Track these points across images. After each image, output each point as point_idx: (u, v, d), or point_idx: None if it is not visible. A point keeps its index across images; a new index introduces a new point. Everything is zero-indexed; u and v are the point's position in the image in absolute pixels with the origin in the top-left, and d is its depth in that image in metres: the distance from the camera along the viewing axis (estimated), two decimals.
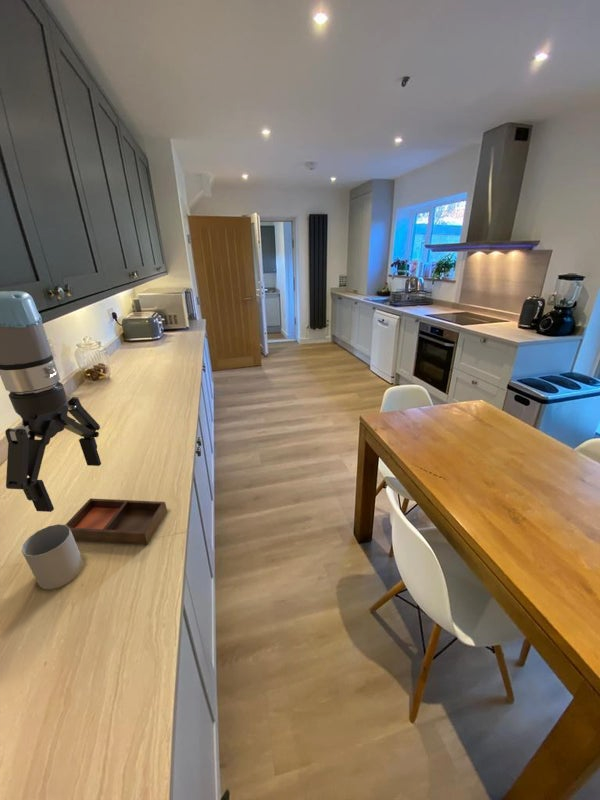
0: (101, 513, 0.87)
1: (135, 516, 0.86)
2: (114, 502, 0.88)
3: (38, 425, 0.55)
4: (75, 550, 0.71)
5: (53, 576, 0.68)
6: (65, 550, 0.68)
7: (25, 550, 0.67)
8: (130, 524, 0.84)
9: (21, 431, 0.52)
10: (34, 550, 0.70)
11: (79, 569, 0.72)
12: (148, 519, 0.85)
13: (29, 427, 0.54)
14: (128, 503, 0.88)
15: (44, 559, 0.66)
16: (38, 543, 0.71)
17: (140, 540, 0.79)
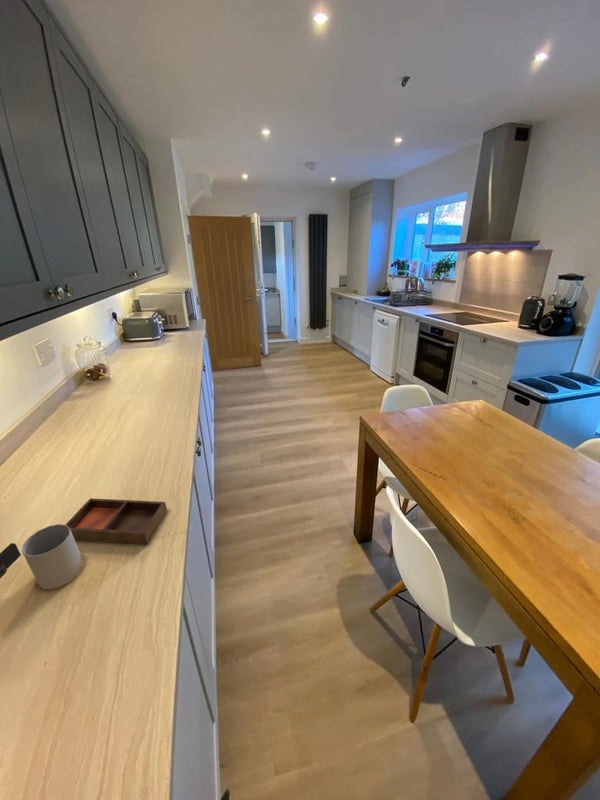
0: (101, 513, 0.87)
1: (135, 516, 0.86)
2: (114, 502, 0.88)
3: None
4: (75, 550, 0.71)
5: (53, 576, 0.68)
6: (65, 550, 0.68)
7: (25, 550, 0.67)
8: (130, 524, 0.84)
9: None
10: (34, 550, 0.70)
11: (79, 569, 0.72)
12: (148, 519, 0.85)
13: None
14: (128, 503, 0.88)
15: (44, 559, 0.66)
16: (38, 543, 0.71)
17: (140, 540, 0.79)
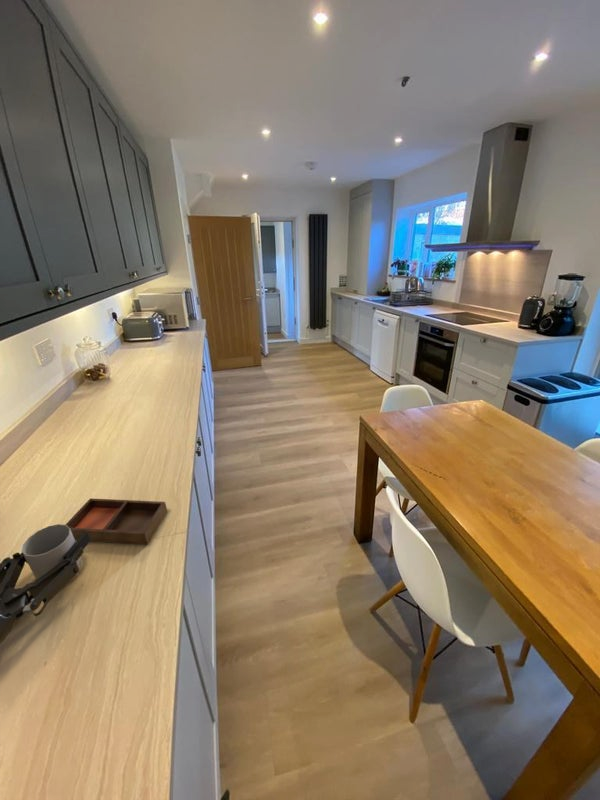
0: (101, 513, 0.87)
1: (135, 516, 0.86)
2: (114, 502, 0.88)
3: None
4: None
5: None
6: (65, 550, 0.68)
7: (25, 550, 0.67)
8: (130, 524, 0.84)
9: None
10: (34, 550, 0.70)
11: (79, 569, 0.72)
12: (148, 519, 0.85)
13: None
14: (128, 503, 0.88)
15: (44, 559, 0.66)
16: (38, 543, 0.71)
17: (140, 540, 0.79)
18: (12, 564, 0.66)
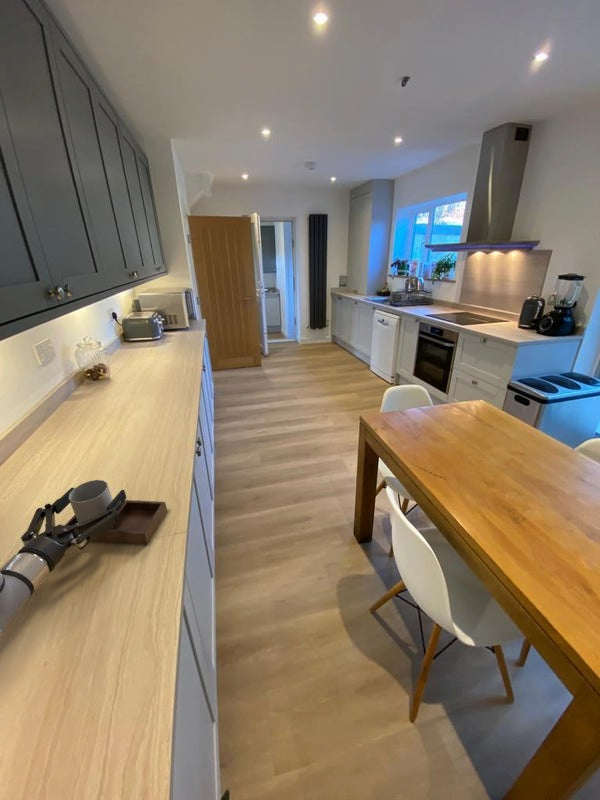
0: None
1: (135, 516, 0.86)
2: None
3: None
4: (111, 501, 0.83)
5: None
6: (104, 499, 0.80)
7: (71, 499, 0.79)
8: (130, 524, 0.84)
9: None
10: (77, 501, 0.82)
11: None
12: (148, 519, 0.85)
13: None
14: (128, 503, 0.88)
15: (88, 505, 0.78)
16: (80, 495, 0.83)
17: (140, 540, 0.79)
18: (47, 512, 0.77)
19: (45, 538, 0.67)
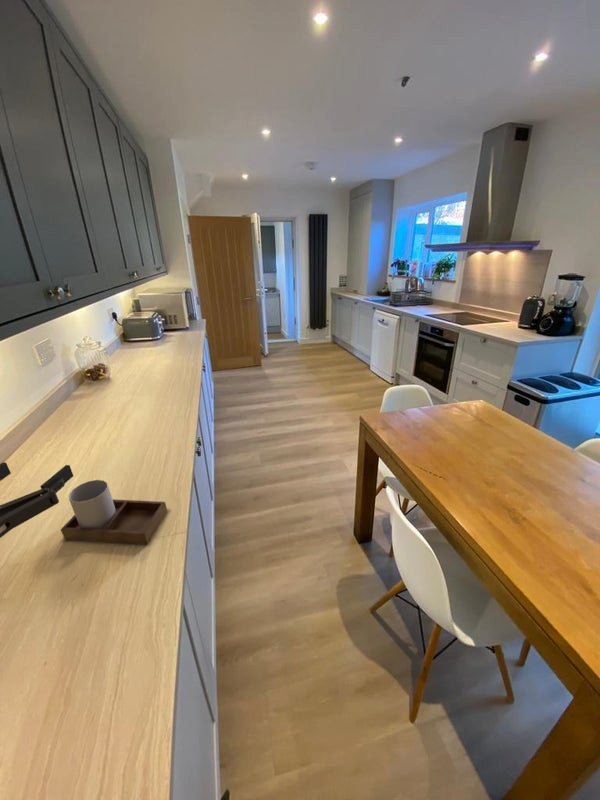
0: None
1: (135, 516, 0.86)
2: (114, 502, 0.88)
3: None
4: (111, 501, 0.83)
5: (94, 521, 0.80)
6: (104, 499, 0.80)
7: (71, 499, 0.79)
8: (130, 524, 0.84)
9: None
10: (77, 501, 0.82)
11: None
12: (148, 519, 0.85)
13: None
14: (128, 503, 0.88)
15: (88, 505, 0.78)
16: (80, 495, 0.83)
17: (140, 540, 0.79)
18: None
19: None
